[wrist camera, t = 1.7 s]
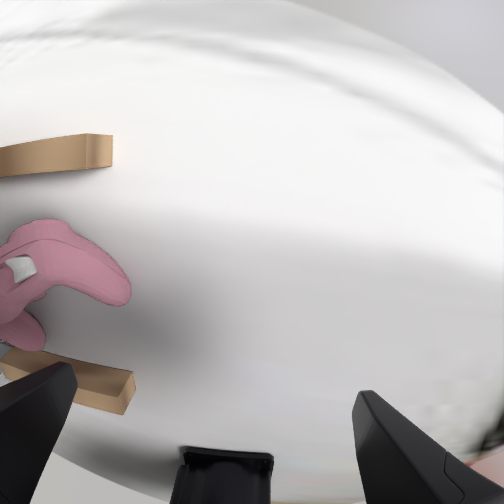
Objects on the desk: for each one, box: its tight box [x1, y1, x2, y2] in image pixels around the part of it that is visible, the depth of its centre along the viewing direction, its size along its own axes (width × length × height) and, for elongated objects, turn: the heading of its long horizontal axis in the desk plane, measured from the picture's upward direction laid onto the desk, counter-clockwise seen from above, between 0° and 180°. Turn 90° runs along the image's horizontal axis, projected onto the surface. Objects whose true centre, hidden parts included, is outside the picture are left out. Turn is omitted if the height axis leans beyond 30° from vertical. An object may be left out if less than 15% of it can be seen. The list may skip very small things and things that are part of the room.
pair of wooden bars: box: [0, 134, 136, 415], centre depth 14 cm, size 10×15×2 cm, turn 177°
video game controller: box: [0, 219, 131, 351], centre depth 13 cm, size 10×5×7 cm, turn 118°
